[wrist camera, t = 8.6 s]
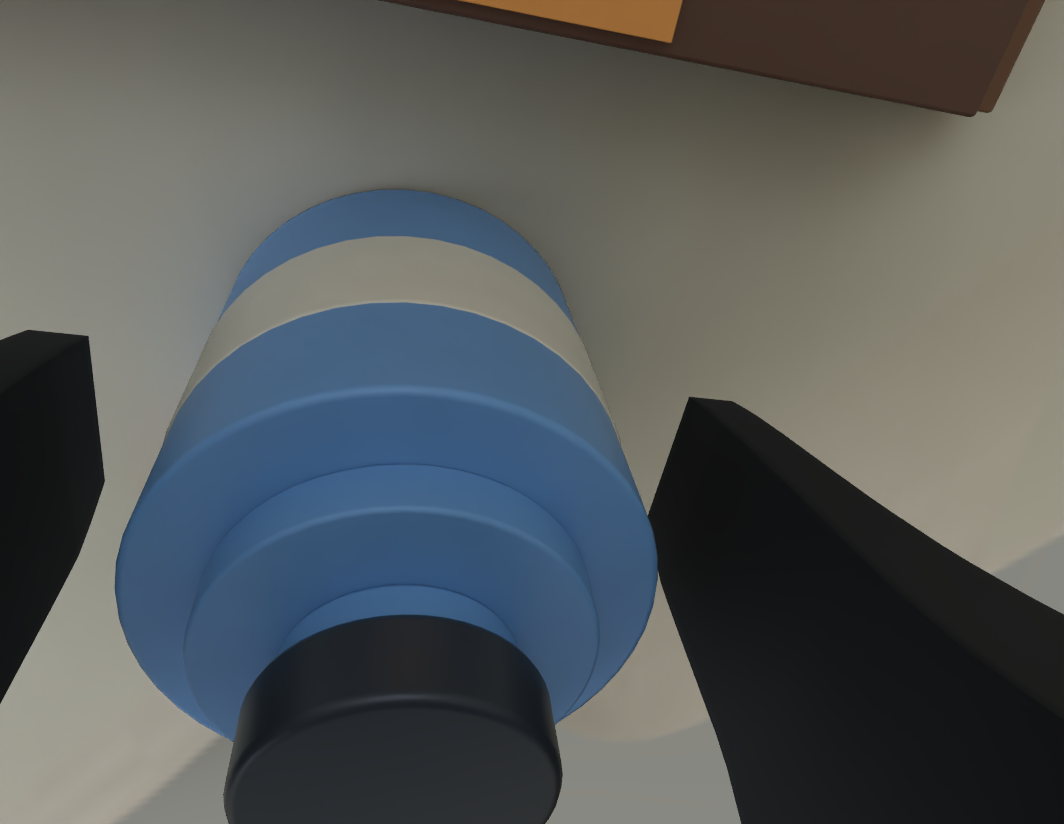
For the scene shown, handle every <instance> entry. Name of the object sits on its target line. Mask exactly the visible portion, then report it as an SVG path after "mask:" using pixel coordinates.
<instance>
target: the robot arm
mask: <svg viewBox="0 0 1064 824" xmlns="http://www.w3.org/2000/svg"><path fill="white" fill-rule="evenodd" d="M104 482H105V478H104V469H103V461H102V452H101V443H100V434H99V425H98V417H97V408H96V399H95V390H94V381H93V373H92V364H91V355H90V346H89V337H88V336H83V335H73V334H64V333H54V332H44V331H34V330H27V331H24V332H21V333H18V334H15V335H12V336H10V337H7V338H5V339H2V340H0V703H1V701H2V699H3V698H4V696H5V694H6V692H7V690H8V688H9V686H10V685H11V683H12V681H13V679H14V677H15V675H16V673H17V671H18V670H19V668H20V666H21V664H22V662H23V660H24V658H25V656H26V655H27V653H28V651H29V649H30V647H31V645H32V643H33V642H34V640H35V638H36V636H37V634H38V632H39V630H40V628H41V627H42V625H43V623H44V621H45V619H46V617H47V615H48V614H49V612H50V610H51V608H52V606H53V604H54V602H55V600H56V598H57V596H58V594H59V593H60V591H61V589H62V587H63V585H64V583H65V581H66V579H67V577H68V575H69V573H70V571H71V570H72V568H73V566H74V564H75V562H76V560H77V558H78V556H79V553H80V551H81V548H82V545H83V543H84V540H85V537H86V534H87V532H88V529H89V526H90V524H91V521H92V518H93V515H94V512H95V509H96V506H97V503H98V500H99V497H100V494H101V491H102V488H103V485H104ZM648 519H649V521H650V524H651V527H652V529H653V533H654V539H655V544H656V549H657V555H658V572H659V576H660V581H661V584H662V587H663V590H664V593H665V596H666V599H667V602H668V605H669V607H670V610H671V613H672V616H673V619H674V621H675V624H676V627H677V630H678V632H679V635H680V638H681V641H682V643H683V646H684V649H685V651H686V654H687V657H688V659H689V662H690V665H691V668H692V670H693V673H694V676H695V678H696V681H697V684H698V686H699V689H700V692H701V695H702V697H703V700H704V703H705V705H706V708H707V711H708V713H709V716H710V719H711V722H712V724H713V727H714V729H715V732H716V735H717V738H718V741H719V745H720V748H721V751H722V754H723V757H724V760H725V763H726V766H727V769H728V773H729V777H730V781H731V785H732V789H733V793H734V797H735V801H736V804H737V808H738V812H739V816H740V820H741V824H1064V615H1063V614H1062V613H1060V612H1058V611H1056V610H1054V609H1052V608H1050V607H1048V606H1046V605H1044V604H1043V603H1041V602H1039V601H1037V600H1035V599H1033V598H1031V597H1029V596H1028V595H1026V594H1024V593H1022V592H1021V591H1019V590H1017V589H1015V588H1014V587H1012V586H1010V585H1008V584H1007V583H1005V582H1003V581H1001V580H1000V579H998V578H996V577H994V576H993V575H991V574H989V573H987V572H986V571H984V570H982V569H980V568H979V567H977V566H975V565H973V564H972V563H970V562H968V561H967V560H965V559H963V558H962V557H960V556H959V555H957V554H955V553H954V552H952V551H950V550H949V549H947V548H945V547H944V546H942V545H941V544H939V543H938V542H936V541H935V540H933V539H932V538H930V537H928V536H927V535H925V534H924V533H922V532H921V531H919V530H918V529H916V528H915V527H913V526H912V525H910V524H909V523H907V522H906V521H904V520H903V519H901V518H900V517H898V516H897V515H895V514H894V513H892V512H891V511H889V510H888V509H886V508H885V507H883V506H882V505H881V504H879V503H878V502H876V501H875V500H873V499H872V498H870V497H869V496H868V495H866V494H865V493H863V492H862V491H861V490H859V489H858V488H856V487H855V486H854V485H852V484H851V483H849V482H848V481H847V480H845V479H844V478H842V477H841V476H840V475H838V474H837V473H836V472H834V471H833V470H831V469H830V468H829V467H827V466H826V465H825V464H823V463H822V462H821V461H819V460H818V459H816V458H815V457H814V456H812V455H811V454H810V453H808V452H807V451H805V450H804V449H803V448H801V447H800V446H799V445H797V444H796V443H795V442H793V441H792V440H790V439H789V438H788V437H786V436H785V435H784V434H782V433H781V432H779V431H778V430H777V429H775V428H774V427H772V426H771V425H769V424H768V423H766V422H765V421H764V420H762V419H761V418H759V417H758V416H756V415H755V414H753V413H752V412H750V411H748V410H747V409H745V408H743V407H742V406H740V405H738V404H736V403H734V402H733V401H724V400H715V399H705V398H695V397H689V399H688V402H687V405H686V407H685V410H684V413H683V416H682V419H681V422H680V425H679V428H678V430H677V433H676V436H675V439H674V442H673V445H672V448H671V451H670V453H669V456H668V459H667V462H666V465H665V468H664V471H663V474H662V476H661V479H660V482H659V485H658V488H657V491H656V494H655V497H654V499H653V502H652V505H651V508H650V511H649V514H648Z"/></svg>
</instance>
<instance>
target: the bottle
mask: <svg viewBox="0 0 1064 824" xmlns="http://www.w3.org/2000/svg"><path fill="white" fill-rule="evenodd" d="M657 580H658V555H657V549H656V544H655V539H654V533H653V529H652V527H651V524H650V521H649V519H648V516H647V513H646V511H645V508H644V506H643V503H642V500H641V498H640V495H639V493H638V490H637V487H636V485H635V482H634V479H633V477H632V474H631V472H630V469H629V466H628V464H627V461H626V459H625V456H624V453H623V451H622V448H621V443H620V438H619V435H618V433H617V430H616V427H615V425H614V422H613V419H612V417H611V414H610V411H609V409H608V406H607V404H606V401H605V399H604V396H603V393H602V391H601V388H600V386H599V383H598V380H597V378H596V375H595V373H594V370H593V367H592V365H591V362H590V360H589V357H588V355H587V352H586V349H585V347H584V344H583V342H582V340H581V339H580V337H579V335H578V333H577V330H576V328H575V325H574V323H573V320H572V317H571V315H570V312H569V310H568V307H567V304H566V302H565V299H564V296H563V294H562V291H561V289H560V286H559V284H558V283H557V281H556V279H555V277H554V275H553V274H552V272H551V270H550V268H549V267H548V266H547V264H546V263H545V262H544V260H543V259H542V258H541V256H540V255H539V254H538V253H537V251H536V250H535V249H534V248H533V247H532V246H531V245H530V244H529V243H528V242H527V241H526V240H525V239H524V238H523V237H522V236H521V235H520V234H518V233H517V232H516V231H514V230H513V229H512V228H510V227H509V226H508V225H506V224H505V223H504V222H502V221H501V220H499V219H498V218H496V217H494V216H492V215H490V214H489V213H487V212H485V211H483V210H482V209H480V208H477V207H475V206H472V205H470V204H467V203H465V202H462V201H460V200H457V199H454V198H450V197H446V196H442V195H438V194H434V193H428V192H421V191H413V190H376V191H368V192H360V193H354V194H350V195H347V196H343V197H339V198H336V199H332V200H329V201H327V202H324V203H322V204H320V205H317V206H315V207H312V208H310V209H308V210H306V211H304V212H303V213H301V214H299V215H298V216H296V217H294V218H292V219H291V220H289V221H287V222H286V223H285V224H283V225H282V226H281V227H280V228H279V229H277V230H276V231H275V232H274V233H272V234H271V235H270V236H269V237H268V238H267V239H266V240H265V241H264V242H263V243H262V244H261V245H260V246H259V247H258V248H257V250H256V251H255V252H254V253H253V254H252V255H251V257H250V258H249V260H248V261H247V263H246V264H245V266H244V267H243V269H242V270H241V272H240V273H239V276H238V278H237V280H236V282H235V284H234V286H233V289H232V291H231V293H230V295H229V297H228V300H227V302H226V304H225V306H224V309H223V311H222V313H221V315H220V318H219V320H218V322H217V324H216V326H215V327H214V329H213V330H212V332H211V334H210V336H209V338H208V341H207V343H206V345H205V347H204V349H203V351H202V353H201V356H200V358H199V360H198V362H197V365H196V367H195V369H194V371H193V374H192V376H191V378H190V380H189V382H188V385H187V387H186V389H185V391H184V394H183V396H182V398H181V400H180V402H179V405H178V407H177V409H176V411H175V414H174V416H173V418H172V420H171V422H170V425H169V427H168V429H167V431H166V435H165V439H164V442H163V446H162V448H161V450H160V452H159V455H158V457H157V459H156V461H155V464H154V466H153V468H152V470H151V473H150V475H149V477H148V479H147V482H146V484H145V486H144V488H143V491H142V493H141V495H140V497H139V500H138V502H137V504H136V506H135V509H134V511H133V513H132V515H131V518H130V520H129V522H128V524H127V527H126V529H125V531H124V533H123V536H122V540H121V544H120V548H119V552H118V556H117V560H116V573H115V594H116V601H117V608H118V614H119V620H120V623H121V626H122V628H123V631H124V634H125V637H126V640H127V643H128V645H129V647H130V649H131V650H132V652H133V654H134V656H135V658H136V659H137V661H138V663H139V665H140V666H141V668H142V669H143V670H144V672H145V673H146V674H147V675H148V677H149V678H150V679H151V680H152V682H153V683H154V684H155V686H156V687H157V688H158V689H159V690H160V691H161V692H162V693H163V694H164V695H165V696H166V697H168V698H169V699H170V700H171V701H172V702H173V703H174V704H175V705H176V706H177V707H178V708H180V709H181V710H182V711H184V712H185V713H187V714H188V715H189V716H191V717H192V718H194V719H195V720H196V721H198V722H199V723H201V724H202V725H204V726H206V727H208V728H209V729H211V730H213V731H215V732H217V733H218V734H220V735H222V736H224V737H226V738H228V739H230V740H231V741H233V742H234V743H233V748H232V753H231V758H230V763H229V768H228V772H227V777H226V782H225V788H224V794H223V795H224V808H225V812H226V816H227V819H228V823H229V824H545V823H546V822H547V820H548V819H549V817H550V816H551V814H552V812H553V810H554V808H555V806H556V803H557V800H558V797H559V794H560V789H561V785H562V775H563V774H562V766H561V759H560V753H559V747H558V742H557V736H556V730H555V724H557V723H558V722H559V721H561V720H562V719H564V718H565V717H567V716H568V715H570V714H571V713H572V712H574V711H575V710H577V709H578V708H580V707H581V706H583V705H584V704H585V703H586V702H587V701H588V700H590V699H591V698H592V697H593V696H594V695H596V694H597V693H598V692H599V691H600V690H601V689H602V688H603V687H604V686H605V685H606V684H607V683H608V682H609V681H610V680H611V679H612V678H613V677H614V676H615V675H616V673H617V672H618V671H619V670H620V669H621V667H622V666H623V665H624V663H625V662H626V660H627V659H628V658H629V656H630V655H631V654H632V652H633V651H634V649H635V647H636V645H637V643H638V641H639V639H640V638H641V636H642V634H643V632H644V630H645V628H646V625H647V622H648V619H649V616H650V613H651V610H652V608H653V603H654V597H655V591H656V586H657Z"/></svg>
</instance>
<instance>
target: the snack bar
mask: <svg viewBox="0 0 1064 824" xmlns="http://www.w3.org/2000/svg"><path fill="white" fill-rule="evenodd" d="M380 1H385V2H390V3H395V4H400V5H405V6H410V7H415V8H420V9H425V10H430V11H435V12H441V13H446V14H451V15H456V16H461V17H466V18H471V19H476V20H481V21H486V22H491V23H496V24H501V25H506V26H511V27H516V28H521V29H526V30H532V31H537V32H542V33H547V34H552V35H557V36H562V37H567V38H572V39H577V40H582V41H587V42H592V43H597V44H602V45H607V46H612V47H617V48H623V49H628V50H633V51H638V52H643V53H648V54H653V55H658V56H663V57H668V58H673V59H678V60H683V61H688V62H693V63H698V64H703V65H709V66H714V67H719V68H724V69H729V70H734V71H739V72H744V73H749V74H754V75H759V76H764V77H769V78H774V79H779V80H784V81H789V82H794V83H800V84H805V85H810V86H815V87H820V88H825V89H830V90H835V91H840V92H845V93H850V94H855V95H860V96H865V97H870V98H875V99H880V100H885V101H891V102H896V103H901V104H906V105H911V106H916V107H921V108H926V109H931V110H936V111H941V112H946V113H951V114H956V115H961V116H966V117H971V116H974V115H975V114H976V112H977V111H980V112H985V113H989V112H991V111H992V110H993V108H994V106H995V104H996V102H997V100H998V98H999V96H1000V94H1001V91H1002V89H1003V87H1004V85H1005V83H1006V81H1007V79H1008V77H1009V75H1010V73H1011V70H1012V68H1013V66H1014V64H1015V62H1016V60H1017V58H1018V56H1019V54H1020V52H1021V49H1022V47H1023V45H1024V43H1025V41H1026V39H1027V37H1028V35H1029V33H1030V31H1031V28H1032V26H1033V24H1034V22H1035V20H1036V18H1037V16H1038V14H1039V12H1040V10H1041V8H1042V5H1043V3H1044V1H1045V0H380Z"/></svg>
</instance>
